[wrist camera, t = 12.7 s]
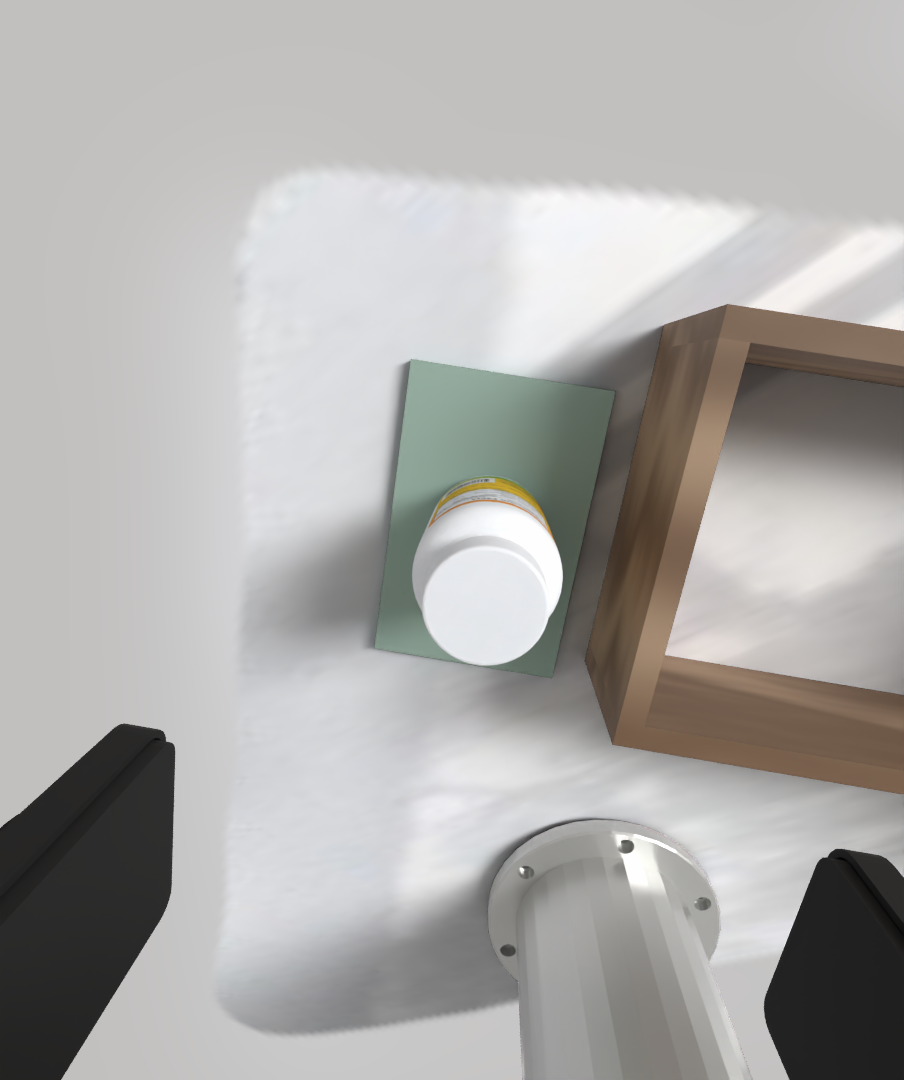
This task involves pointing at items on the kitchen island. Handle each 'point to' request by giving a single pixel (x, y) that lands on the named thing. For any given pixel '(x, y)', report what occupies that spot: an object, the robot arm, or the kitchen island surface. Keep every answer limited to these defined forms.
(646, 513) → the box
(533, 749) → the kitchen island surface
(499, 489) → the supplement bottle
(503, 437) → the mat
